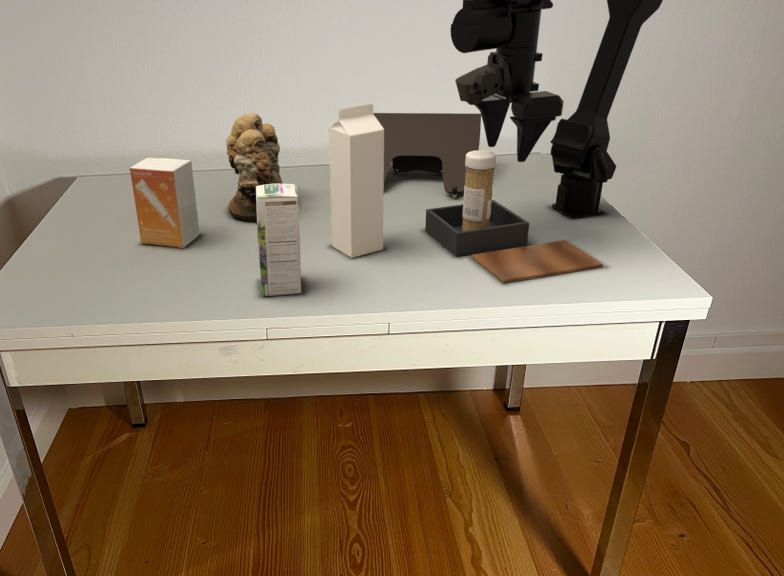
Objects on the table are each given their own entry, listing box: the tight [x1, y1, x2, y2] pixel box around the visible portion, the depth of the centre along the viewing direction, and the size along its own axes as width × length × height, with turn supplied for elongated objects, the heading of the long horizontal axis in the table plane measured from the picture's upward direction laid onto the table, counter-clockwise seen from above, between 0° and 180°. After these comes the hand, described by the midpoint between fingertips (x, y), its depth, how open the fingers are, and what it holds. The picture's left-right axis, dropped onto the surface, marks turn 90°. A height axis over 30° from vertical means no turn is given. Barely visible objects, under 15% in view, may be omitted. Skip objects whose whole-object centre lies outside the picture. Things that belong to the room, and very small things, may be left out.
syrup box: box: [255, 183, 302, 297], centre depth 105 cm, size 6×6×14 cm
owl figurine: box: [225, 112, 284, 221], centre depth 135 cm, size 18×12×17 cm, turn 174°
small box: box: [129, 157, 201, 249], centre depth 124 cm, size 8×6×13 cm
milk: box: [328, 103, 385, 259], centre depth 115 cm, size 6×6×22 cm
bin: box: [424, 199, 530, 257], centre depth 121 cm, size 12×12×4 cm
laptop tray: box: [373, 112, 482, 199], centre depth 148 cm, size 23×23×9 cm
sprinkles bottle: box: [462, 149, 497, 231], centre depth 119 cm, size 5×5×14 cm
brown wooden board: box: [471, 239, 604, 284], centre depth 113 cm, size 16×10×1 cm, turn 106°
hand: (505, 154), depth 116 cm, fingers open, 9 cm apart
